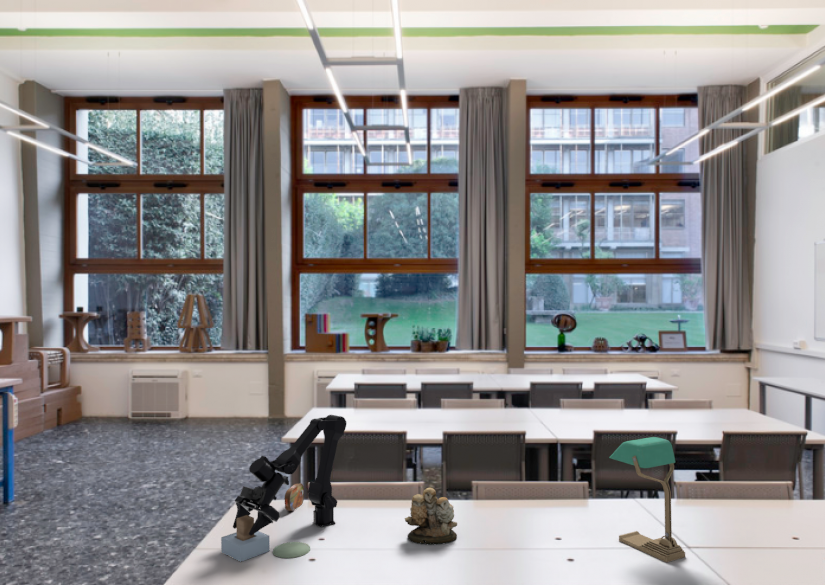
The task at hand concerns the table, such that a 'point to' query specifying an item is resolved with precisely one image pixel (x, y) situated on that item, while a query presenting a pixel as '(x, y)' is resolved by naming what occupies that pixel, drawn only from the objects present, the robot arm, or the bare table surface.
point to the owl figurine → (431, 519)
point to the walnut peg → (244, 527)
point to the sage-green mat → (291, 550)
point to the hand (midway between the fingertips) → (241, 531)
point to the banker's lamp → (658, 454)
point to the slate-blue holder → (245, 546)
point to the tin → (294, 497)
